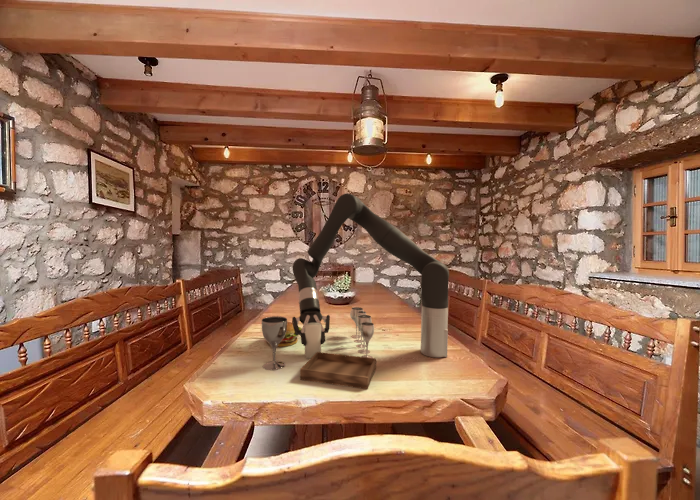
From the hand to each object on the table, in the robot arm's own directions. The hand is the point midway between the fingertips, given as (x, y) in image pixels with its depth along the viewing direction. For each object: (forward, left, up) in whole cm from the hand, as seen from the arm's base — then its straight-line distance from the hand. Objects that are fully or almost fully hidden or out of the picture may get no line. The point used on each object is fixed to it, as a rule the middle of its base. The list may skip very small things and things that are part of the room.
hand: (313, 343), depth 106 cm
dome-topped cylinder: (+1, -2, -5) cm, 5 cm away
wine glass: (+10, +9, -5) cm, 15 cm away
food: (+17, -12, -5) cm, 21 cm away
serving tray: (-12, +9, -5) cm, 16 cm away
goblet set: (-13, -16, -5) cm, 21 cm away
